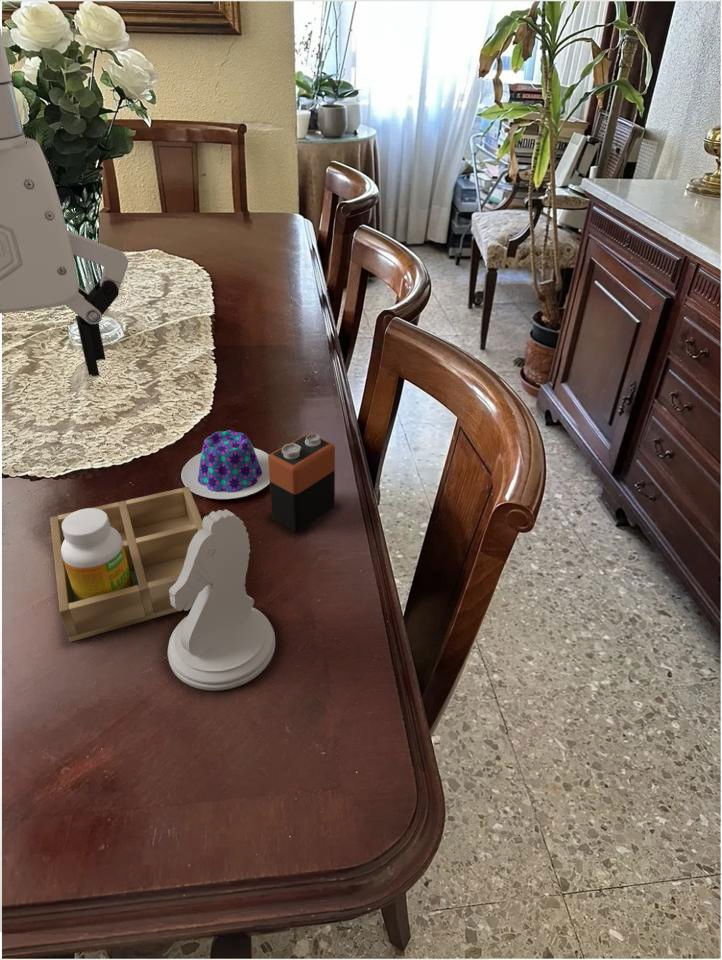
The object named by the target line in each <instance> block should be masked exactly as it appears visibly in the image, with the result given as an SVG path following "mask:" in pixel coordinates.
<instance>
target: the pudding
mask: <svg viewBox="0 0 722 960" xmlns="http://www.w3.org/2000/svg"><path fill="white" fill-rule="evenodd" d="M269 455H270V454H269V453H267V452H266V451H264V450H262V449H259V448H256V447H254V446H253V443H252V441H251V440H250V439H249V437H248V435H246V433H244V432H242V431H240V432H239V431H236V430H231V429H227V430H225V431H221V430H219V431H215V432H214V433H212V434H211V435H209V436H207V437H206V438H205V439H203V443H202V446H201V452H199V453H198V454H196V455H194V456H193V457H192V458H190V459H189V460H188V461H187V463H185V464H184V466H183V468H182V470H181V474H180V475H181V476H180V478H181V481H182V483H183V485H184V487H189V489H190V491H191V493H193V494H195V495H198V496H200V497H204V498H208V499H215V500H231V499H239V498H243V497H248V496H250V495H254V494H256V493H258V492H260V491H262V490H263V489H265V488H266V487H267V486H269V485H270V477H269V463H268V456H269Z"/></svg>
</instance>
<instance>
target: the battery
mask: <svg viewBox="0 0 722 960" xmlns="http://www.w3.org/2000/svg"><path fill="white" fill-rule="evenodd" d="M335 454H336V447H335V444H333V443H332V442H329V441H327V440H326V439H323V438H321V437H320V435H319V434H317V433H310V432H308V433H305V434H303V435H302V436H300V437H298V438H297V439H295V440H293V441H291V442H289V443H287V444H284V445H283V446H282V447H280V448H279V449H277V450H275V451H272V453H270V454H268V455H269V456H268V463H269V477H270V484H269V487H270V488H269V490H270V503H271V505H270V506H271V518H272V519H273V520H274V521H276V522H277V523H279V524H281V525H283V526H284V527H286V528H287V529H289V530H291V531H293V532H294V533H299V532H301V531H302V530H304V529H305V528H307V527H308V526H309V525H311V524H313V523H314V522H315V521H317V520H319V519H320V518H322V517H323V516H325V514H327V513H329V512H330V511H331V510H333V509H334V508H335V505H336V497H335V496H336V455H335Z"/></svg>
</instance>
